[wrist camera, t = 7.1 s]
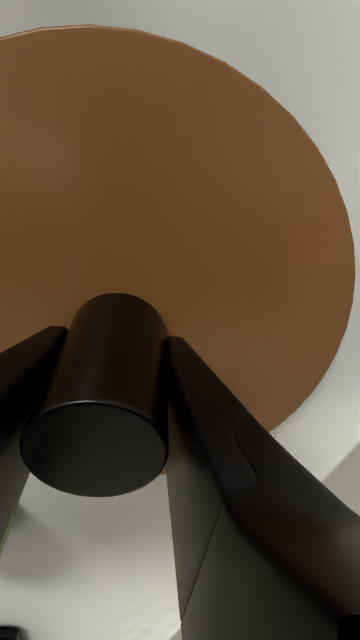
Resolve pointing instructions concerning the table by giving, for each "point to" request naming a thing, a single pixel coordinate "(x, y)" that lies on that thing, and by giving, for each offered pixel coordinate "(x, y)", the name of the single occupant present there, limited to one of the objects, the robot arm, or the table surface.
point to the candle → (7, 533)
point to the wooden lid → (157, 244)
